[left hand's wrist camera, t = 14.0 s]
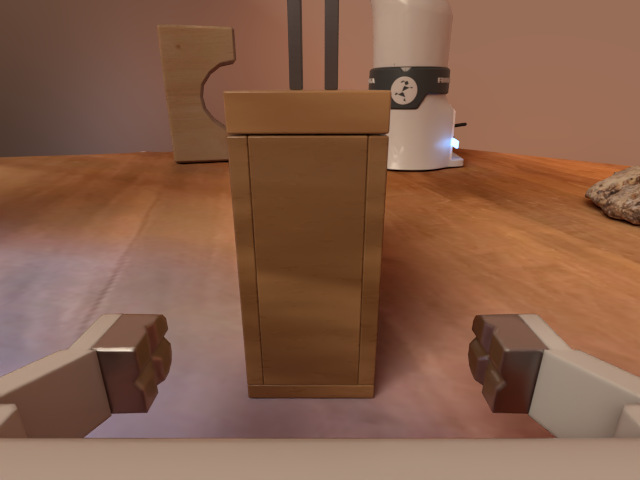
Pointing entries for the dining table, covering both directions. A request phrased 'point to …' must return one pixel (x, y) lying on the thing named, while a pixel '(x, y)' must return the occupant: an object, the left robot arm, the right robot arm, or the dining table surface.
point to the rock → (619, 195)
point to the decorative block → (194, 88)
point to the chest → (309, 260)
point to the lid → (309, 94)
